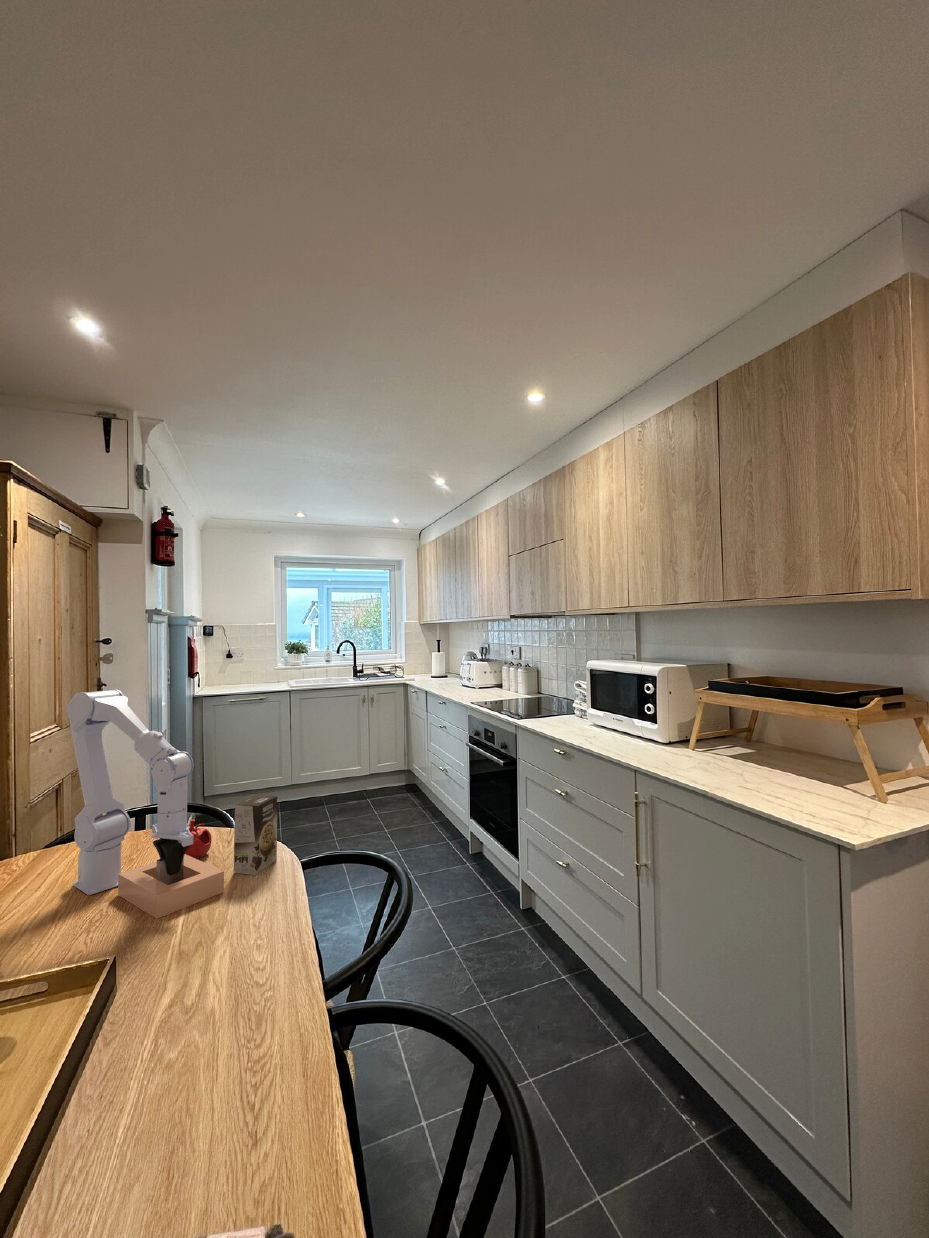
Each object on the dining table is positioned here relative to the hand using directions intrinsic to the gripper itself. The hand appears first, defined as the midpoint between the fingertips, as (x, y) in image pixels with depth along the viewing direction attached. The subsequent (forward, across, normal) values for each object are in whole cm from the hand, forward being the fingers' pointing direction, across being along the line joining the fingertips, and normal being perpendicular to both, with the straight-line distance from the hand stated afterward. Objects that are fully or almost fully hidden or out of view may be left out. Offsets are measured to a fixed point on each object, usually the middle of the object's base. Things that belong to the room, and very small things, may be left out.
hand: (171, 872), depth 117 cm
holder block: (+4, 0, 0) cm, 5 cm away
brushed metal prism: (+5, 0, 0) cm, 5 cm away
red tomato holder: (+5, -18, +13) cm, 22 cm away
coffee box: (+5, +2, +19) cm, 20 cm away
